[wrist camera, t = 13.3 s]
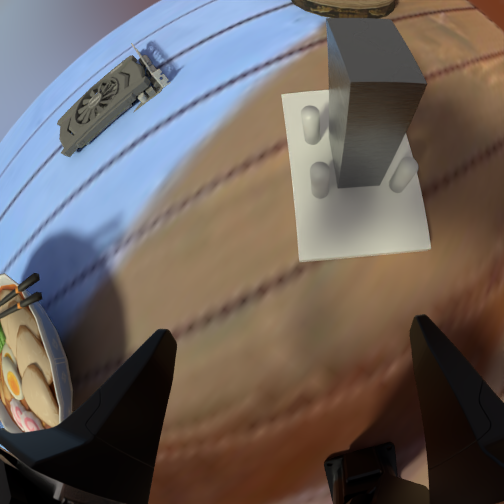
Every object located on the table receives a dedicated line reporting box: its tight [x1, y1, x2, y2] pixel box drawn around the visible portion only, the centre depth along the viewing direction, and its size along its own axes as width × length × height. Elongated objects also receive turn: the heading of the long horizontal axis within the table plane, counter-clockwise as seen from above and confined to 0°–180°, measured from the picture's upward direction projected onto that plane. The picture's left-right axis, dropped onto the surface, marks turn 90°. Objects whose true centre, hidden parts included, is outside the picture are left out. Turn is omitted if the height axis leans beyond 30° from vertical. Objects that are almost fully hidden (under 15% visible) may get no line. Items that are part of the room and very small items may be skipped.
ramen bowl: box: [0, 273, 73, 433], centre depth 25 cm, size 25×23×8 cm
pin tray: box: [281, 90, 431, 262], centre depth 21 cm, size 16×11×5 cm
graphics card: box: [57, 43, 171, 157], centre depth 31 cm, size 17×4×12 cm
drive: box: [326, 18, 427, 189], centre depth 16 cm, size 5×4×13 cm
